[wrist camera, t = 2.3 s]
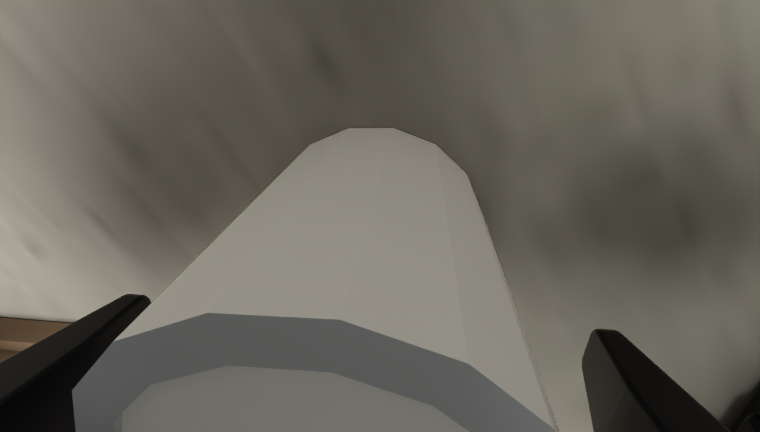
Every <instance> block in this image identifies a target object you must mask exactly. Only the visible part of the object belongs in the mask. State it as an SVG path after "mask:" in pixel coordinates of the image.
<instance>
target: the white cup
mask: <svg viewBox="0 0 760 432" xmlns="http://www.w3.org/2000/svg"><path fill="white" fill-rule="evenodd" d="M72 397H73V408H74V419H75V429H76V432H559V429H558V427H557V424H556V421H555V418H554V415H553V412H552V410H551V407H550V404H549V401H548V398H547V395H546V393H545V390H544V387H543V384H542V381H541V378H540V376H539V373H538V370H537V367H536V364H535V361H534V359H533V356H532V353H531V350H530V347H529V344H528V342H527V339H526V336H525V333H524V330H523V327H522V325H521V322H520V319H519V316H518V313H517V310H516V308H515V305H514V302H513V299H512V296H511V293H510V291H509V288H508V285H507V282H506V279H505V276H504V274H503V271H502V268H501V265H500V262H499V259H498V257H497V254H496V251H495V248H494V245H493V242H492V240H491V237H490V234H489V231H488V228H487V225H486V223H485V220H484V217H483V214H482V211H481V209H480V206H479V204H478V201H477V199H476V196H475V194H474V191H473V189H472V186H471V184H470V181H469V179H468V176H467V174H466V173H465V172H464V171H463V170H462V169H461V168H460V167H459V166H458V165H457V164H456V163H455V162H454V161H453V160H452V159H451V158H450V157H449V156H447V155H446V154H445V153H444V152H443V151H442V150H441V149H440V148H439V147H438V146H437V145H436V144H434V143H431V142H428V141H426V140H423V139H421V138H418V137H416V136H413V135H410V134H408V133H405V132H403V131H400V130H397V129H395V128H348V129H345V130H343V131H341V132H338V133H336V134H334V135H331V136H329V137H326V138H324V139H322V140H319V141H317V142H315V143H312V144H310V145H309V146H308V147H307V148H306V149H305V150H304V151H303V152H302V153H301V154H300V155H299V156H298V157H297V158H296V159H295V160H294V161H293V162H292V163H291V164H290V165H289V166H288V167H287V168H286V169H285V170H284V171H283V172H282V173H281V174H280V175H279V176H278V177H277V178H276V179H275V180H274V181H273V182H272V183H271V184H270V185H269V186H268V187H267V188H266V189H265V190H264V191H263V192H262V193H261V194H260V195H259V196H258V197H257V198H256V199H255V200H254V201H253V202H252V203H251V204H250V205H249V206H248V207H247V208H246V209H245V210H244V211H243V212H242V213H241V214H240V215H239V216H238V217H237V218H236V219H235V220H234V221H233V222H232V223H231V224H230V225H229V226H228V227H227V228H226V229H225V230H224V231H223V232H222V233H221V234H220V235H219V236H218V237H217V238H216V239H215V240H214V241H213V242H212V243H211V244H210V245H209V246H208V247H207V248H206V249H205V250H204V251H203V252H202V253H201V254H200V255H199V256H198V257H197V258H196V259H195V260H194V261H193V262H192V263H191V264H190V265H189V266H188V267H187V268H186V269H185V270H184V271H183V272H182V273H181V274H180V275H179V276H178V277H177V278H176V279H175V280H174V281H173V282H172V283H171V284H170V285H169V286H168V287H167V288H166V289H165V290H164V291H163V292H162V293H161V294H160V295H159V296H158V297H157V298H156V299H155V300H154V301H153V302H152V303H151V304H150V305H149V306H148V307H147V308H146V309H145V310H144V311H143V312H142V313H141V314H140V315H139V316H138V317H137V318H136V319H135V320H134V321H133V322H132V323H131V324H130V325H129V326H128V327H127V328H126V329H125V330H124V331H123V332H122V333H121V334H120V335H119V336H118V337H117V338H116V339H115V340H114V341H113V342H112V343H111V345H110V346H109V347H108V348H107V349H106V351H105V352H104V353H103V354H102V355H101V356H100V358H99V359H98V360H97V361H96V362H95V364H94V365H93V366H92V367H91V368H90V370H89V371H88V372H87V373H86V374H85V376H84V377H83V378H82V379H81V380H80V381H79V383H78V384H77V385H76V386H75V387H74V389H73V390H72Z"/></svg>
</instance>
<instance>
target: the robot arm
mask: <svg viewBox="0 0 760 432" xmlns="http://www.w3.org/2000/svg"><path fill="white" fill-rule="evenodd" d="M150 304H151V301H150V299H149V298H148V297H147V296H145V295H136V294H127V295H124V296H122V297H120V298H118V299H116V300H114V301H113V302H111V303H109V304H107V305H105V306H103V307H102V308H100V309H98V310H96V311H94V312H92V313H91V314H89V315H87V316H85V317H83V318H81V319H79V320H78V321H76V322H74V323H72V324H70V325H68V326H67V327H65V328H63V329H61V330H59V331H57V332H56V333H54V334H52V335H50V336H48V337H46V338H44V339H43V340H41V341H39V342H37V343H35V344H33V345H32V346H30V347H28V348H26V349H24V350H22V351H21V352H19V353H17V354H15V355H13V356H11V357H10V358H8V359H6V360H4V361H2V362H0V432H76V429H75V419H74V408H73V397H72V390H73V389H74V387H75V386H76V385H77V384H78V383H79V381H80V380H81V379H82V378H83V377H84V376H85V374H86V373H87V372H88V371H89V370H90V368H91V367H92V366H93V365H94V364H95V362H96V361H97V360H98V359H99V358H100V356H101V355H102V354H103V353H104V352H105V351H106V349H107V348H108V347H109V346H110V345H111V343H112V342H113V341H114V340H115V339H116V338H117V337H118V336H119V335H120V334H121V333H122V332H123V331H124V330H125V329H126V328H127V327H128V326H129V325H130V324H131V323H132V322H133V321H134V320H135V319H136V318H137V317H138V316H139V315H140V314H141V313H142V312H143V311H144V310H145V309H146V308H147V307H148V306H149V305H150ZM582 370H583V376H584V381H585V387H586V392H587V397H588V403H589V408H590V413H591V419H592V424H593V429H594V432H760V391H759V392H758V394H757V395H756V396H755V398H754V399H753V401H752V402H751V403H750V405H749V406H748V407H747V409H746V410H745V412H744V413H743V414H742V416H741V417H740V418H739V420H738V421H737V423H736V424H735V425H734V427H733V428H732V429H731V431H729V430H728V429H727V428H726V427H725V426H724V425H723V424H722V423H721V422H719V421H718V420H717V419H716V418H715V417H714V416H713V415H712V414H711V413H709V412H708V411H707V410H706V409H705V408H704V407H703V406H702V405H700V404H699V403H698V402H697V401H696V400H695V399H694V398H693V397H692V396H690V395H689V394H688V393H687V392H686V391H685V390H684V389H683V388H682V387H680V386H679V385H678V384H677V383H676V382H675V381H674V380H673V379H672V378H670V377H669V376H668V375H667V374H666V373H665V372H664V371H663V370H661V369H660V368H659V367H658V366H657V365H656V364H655V363H654V362H653V361H651V360H650V359H649V358H648V357H647V356H646V355H645V354H644V353H643V352H641V351H640V350H639V349H638V348H637V347H636V346H635V345H634V344H633V343H631V342H630V341H629V340H628V339H627V338H626V337H625V336H624V335H622V334H621V333H620V332H618V331H616V330H608V329H595V330H593V331H592V333H591V335H590V338H589V341H588V344H587V346H586V349H585V352H584V355H583V358H582Z"/></svg>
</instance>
